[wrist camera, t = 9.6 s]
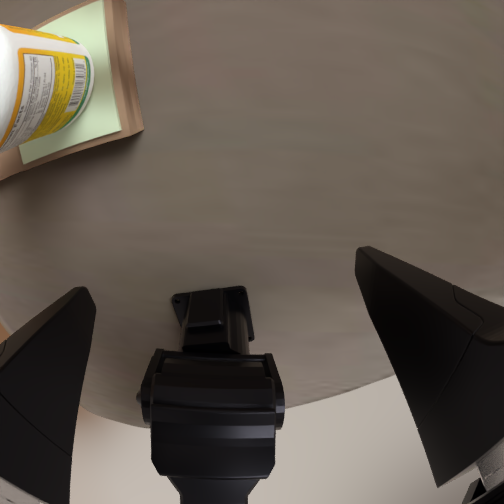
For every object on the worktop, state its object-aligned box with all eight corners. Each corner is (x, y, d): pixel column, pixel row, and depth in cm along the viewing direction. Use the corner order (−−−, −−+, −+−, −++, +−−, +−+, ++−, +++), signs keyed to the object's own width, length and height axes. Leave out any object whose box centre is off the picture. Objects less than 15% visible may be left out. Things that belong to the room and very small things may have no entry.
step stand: (143, 129, 18) (129, 136, 15) (-8, 183, 18) (-30, 196, 15) (125, 2, 13) (109, -10, 10) (-27, 84, 13) (-51, 88, 10)
